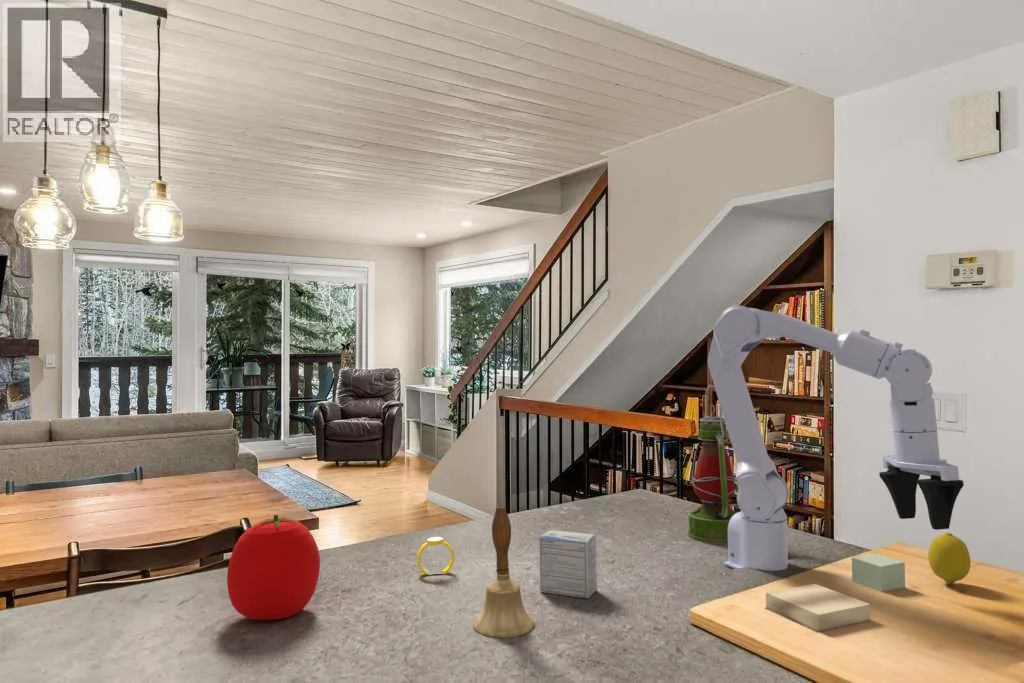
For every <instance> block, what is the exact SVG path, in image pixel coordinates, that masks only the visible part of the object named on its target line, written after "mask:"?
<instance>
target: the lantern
mask: <svg viewBox="0 0 1024 683" xmlns="http://www.w3.org/2000/svg"><path fill="white" fill-rule="evenodd" d="M710 389H712V390H715V387H714V384H708V386H707V387H706V390H705V396H704V409H705V410H704V417H702V418H700V419H699V421H700V423H699V436H698V437H697V439H698V440H700V441H702V446H701V448H700V451H699V455H698V458H697V463H696V467H695V472H694V474H693V475H692V478H691V482H692V486H693V491H694V494H695V496H697V497H699V498H700V501H701V502H702V505H700V506H698V507H695V508H693V509H692V510H690V512H688V530H687V534H688V535H687V538H689V539H691V540H692V541H697V542H700V543H706V544H713V545H715V544H717V545H720V544H721V545H728V524H729V521H730V519H731V518H732V516H733V515H735V514H736V513H738V512H737V511H736V510H733V509H732V508H730V504H729V499H731V498H732V497H734V496H735V492H736V490H737V489H738V486H737V484H736V483H735V482H737V479H736V477H734V472H733V469H732V464H731V461H730V458H729V454H728V452H727V449H726V447H725V446H726V445H725V442H724V441H729V439H730V437H728V430H727V427H726V423H725V420H724V417H723V413H722V410H721V407H720V403H719V402H718V404H719V406H718V407H719V415H716V414H715V411H716V410H715V408H716V407H715V405H714V404H710V406H709V407H710V409H709V412H710V415H708V394H709V393H708V392H709V390H710ZM712 408H713V410H712Z"/></svg>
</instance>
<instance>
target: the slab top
mask: <svg viewBox="0 0 1024 683" xmlns="http://www.w3.org/2000/svg"><path fill="white" fill-rule="evenodd" d="M765 604H766V605H765V606H766V607H765V608H769V609H771V610H773V611H775V612H778V613H780V614H782V615H784V616H787V617H789V618H791V619H793V620H795V621H798V622H800V623H802V624H804V625H807V626H809V627H811V628H813V629H816V630H818V631H821V630H825V631H827V630H826V629H830V628H834V629H836V628H835V627H839V626H843V627H845V626H844V625H847V626H849V625H848V624H852V625H854V624H853V623H856V624H858V623H857V622H861V623H863V622H862V621H865V622H868V621H867V620H869V621H870V620H871V604H870V603H868V602H865V601H862V600H860V599H857V598H854V597H852V596H849V595H847V594H844V593H841V592H839V591H835V590H834V589H830V588H827V587H825V586H822V585H819V584H817V583H812V584H807V585H800V586H795V587H790V588H785V589H779V590H774V591H773V590H772V591H769V592H765ZM839 628H840V627H839ZM830 630H831V629H830ZM821 632H822V631H821Z"/></svg>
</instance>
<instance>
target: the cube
mask: <svg viewBox="0 0 1024 683" xmlns="http://www.w3.org/2000/svg"><path fill="white" fill-rule="evenodd" d="M905 563H906V562H905V561H902V560H899V559H895V558H893V557H889V556H885V555H882V554H878V553H871V554H863V555H859V556H853V557H851V580H852V583H855V584H859V585H860V586H863V587H867V588H870V589H872V590H875V591H878V592H881V593H882V592H887V591H892V590H897V589H900V588H901V589H902V588H904V589H906V566H905V565H906V564H905Z"/></svg>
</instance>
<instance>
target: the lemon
mask: <svg viewBox="0 0 1024 683" xmlns="http://www.w3.org/2000/svg"><path fill="white" fill-rule="evenodd" d="M970 555H971V554H970V552H969V549H968V547H967V545H966V543H965V542H964V541H963V540H962V539H961V538H959V537H958V536H955V535H953V534H952V533H951V532H945V533H944V534H941V535H938V536H936V537H934V538H933V540H932V541H931V542H930V545H929V548H928V556H927V557H928V564H929V566H930V568H931V570H932V572H933V573H934V574H935V575H936V576H937V577H938V578H940V579H942V580H943V581H944V582H945V583H946V584H948V585H954V584H955V583H956V582H958V581H962V580H963V579H964V578H965V577H967V576H968V574H969V572H970V569H971V565H972V564H971V556H970Z"/></svg>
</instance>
